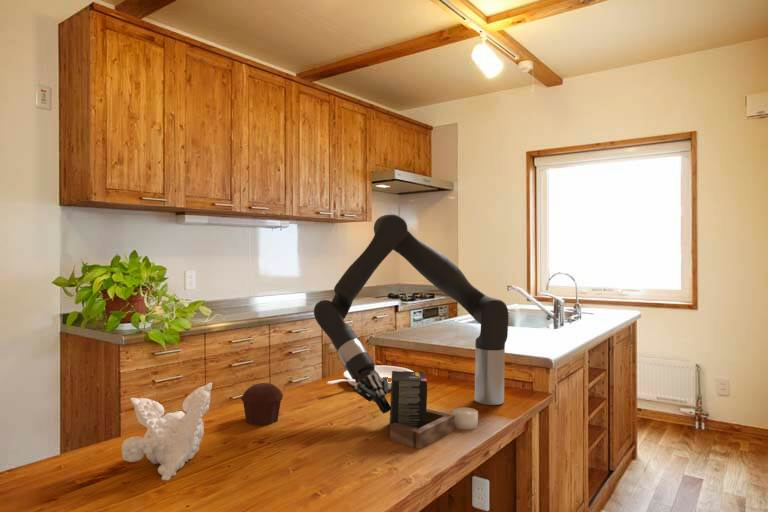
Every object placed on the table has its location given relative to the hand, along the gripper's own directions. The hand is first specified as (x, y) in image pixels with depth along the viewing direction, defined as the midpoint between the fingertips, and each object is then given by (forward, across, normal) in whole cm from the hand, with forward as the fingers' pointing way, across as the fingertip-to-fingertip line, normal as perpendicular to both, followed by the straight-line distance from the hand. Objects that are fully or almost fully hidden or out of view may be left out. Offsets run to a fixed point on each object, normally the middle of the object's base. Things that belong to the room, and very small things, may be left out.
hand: (387, 411), depth 141 cm
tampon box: (+7, +2, -1) cm, 7 cm away
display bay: (+10, +2, -4) cm, 11 cm away
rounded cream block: (+13, +16, -8) cm, 22 cm away
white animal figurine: (-11, -50, +20) cm, 55 cm away
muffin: (-17, -18, +25) cm, 36 cm away
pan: (-19, +30, +26) cm, 44 cm away
